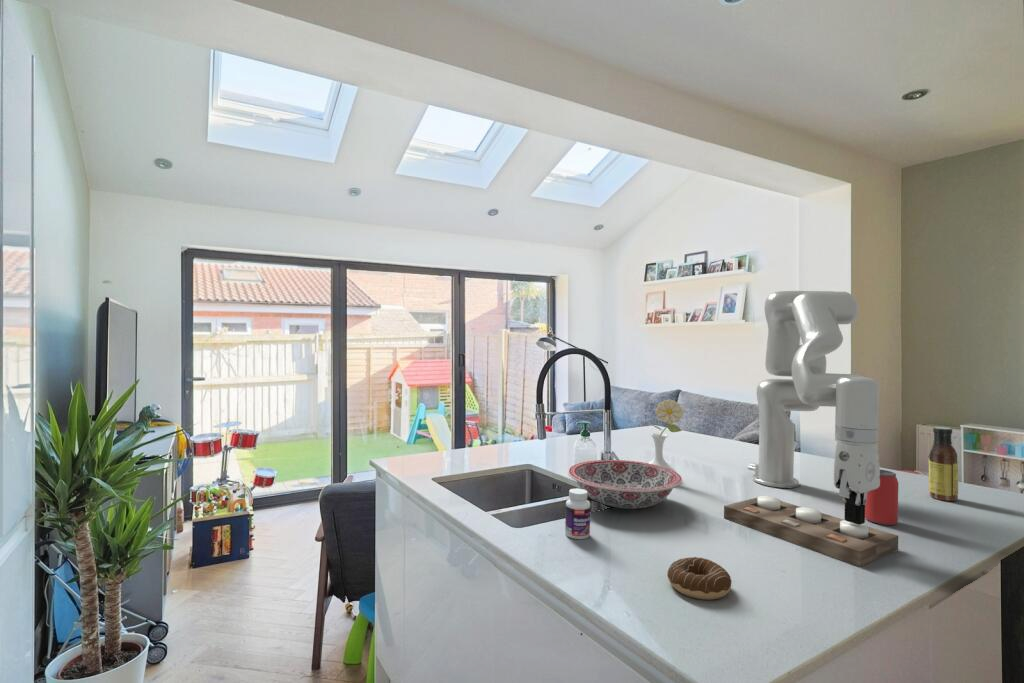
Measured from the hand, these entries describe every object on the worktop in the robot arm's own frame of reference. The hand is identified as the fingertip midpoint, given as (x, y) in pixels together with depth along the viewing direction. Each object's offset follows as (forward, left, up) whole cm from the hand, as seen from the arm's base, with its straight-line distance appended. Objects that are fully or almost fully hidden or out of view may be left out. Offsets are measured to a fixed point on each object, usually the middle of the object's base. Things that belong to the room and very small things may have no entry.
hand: (854, 521), depth 107 cm
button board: (-10, -1, -5) cm, 11 cm away
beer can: (-5, +23, -6) cm, 24 cm away
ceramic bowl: (-45, -23, -6) cm, 51 cm away
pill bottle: (-34, -47, -6) cm, 58 cm away
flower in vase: (-56, +3, -6) cm, 56 cm away
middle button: (-10, 0, -3) cm, 10 cm away
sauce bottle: (-5, +59, -6) cm, 59 cm away
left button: (-19, 0, -3) cm, 19 cm away
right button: (0, 0, -3) cm, 3 cm away
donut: (-5, -43, -6) cm, 44 cm away
